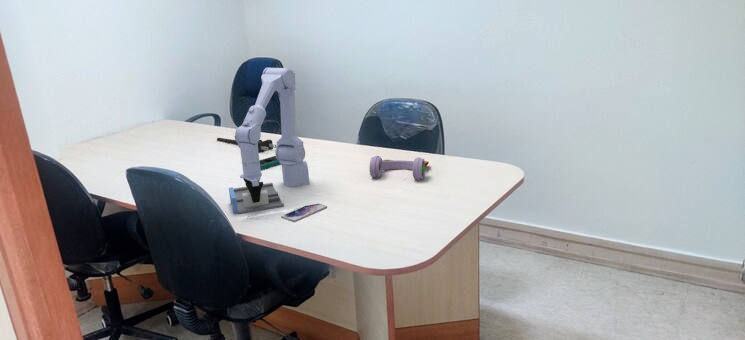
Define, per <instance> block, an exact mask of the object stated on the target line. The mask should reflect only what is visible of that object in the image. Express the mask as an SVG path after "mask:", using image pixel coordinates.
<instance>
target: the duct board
mask: <svg viewBox="0 0 745 340" xmlns="http://www.w3.org/2000/svg"><path fill="white" fill-rule="evenodd" d="M262 190H266V191H267V193H268V198H273V197H280V196H279V193H278V191H276V188H275V187H274V183H273V182H268V183H263V186H262V189H261V191H262ZM228 192H229V200H230V205H232V211H233V214H238V215H242V214H247V213H248V214H249V213H254V212H260V211H261V212H262V211H265V210H266V211H267V210H274V209H277V208H278V209H279V208H284V207H285V204H284V202H283V201H282V200H281V199H280V201H277V202H271V203H269V204H264V205H258V206H252V207H246V208H245V207H244V202H243V193H249V189H248V188H247V187H246V186H241V187H228Z"/></svg>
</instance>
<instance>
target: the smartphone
mask: <svg viewBox="0 0 745 340" xmlns="http://www.w3.org/2000/svg"><path fill="white" fill-rule="evenodd" d="M326 209H328V206H327V205H324V204H321V203H316V204H315V203H314V204H309V205H304V206H302V207H299V208H297V209H294V210H293V211H289V212H287V213H285V214H283V215H281V216H280V218H281V219H283V220H286V221H287V220H288V221H289V222H292V223H296V222H300V221H301V220H303V219H305V218H308V217H309V216H312V215H314V214H316V213H319V212H321V211H323V210H326Z"/></svg>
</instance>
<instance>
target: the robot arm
mask: <svg viewBox="0 0 745 340" xmlns="http://www.w3.org/2000/svg"><path fill="white" fill-rule="evenodd" d="M260 78H261V87H260V90H259V93H258V95H257V98H256V102H255V104H254V105H251V106H250V107H249V109H248V111H247V113H246V116H245V118H244V119H243V122H242V124H241V125H240V126H238V127H237V128H236V130H235V131H234V132H235V135H234V140H236V141H237V143H238V144H237V146H238V148H239V149H240V150H239V151H240V158H241V165H242V174H240V175H239V178H240V179H242V180H243V181H244V183H245V184H244V185H245V187H247V188H248V189H249V193H250V194H251V198H252V201H253V203H256V202H260V193H261V189H262V186H263V184H264V182H263V181H260V180H261V178H262V176H263V174H262V170H261V169H260V160H261V159H260V153H259V152H258V141H259V140H261V138H262V137H261V133H262V124H263V123H264V121H265V118H266V116H267V111H266V108H267V105H268V104H269V102H270V100H271V99H272V96H273V95H274V93H275V92H277V93H278V94H279V103H280V107H279V108H280V128H281V137H280V138H279V139H278V140H277V141H276V148H275V152H274V153H275V155H274V156H276V158H277V159H278V160H279V161H280V163H281V164H282V165H281V173H282V174H281V175H282V182H283V186H285V187H287V188H288V187H290V188H291V187H299V186H302V185H308V184H310V175H309V167H308V162H307V161H306V160H305V158H306V150H305V147H304V140H302V139H301V138H299V137H298V136H297V121H296V120H297V117H296V115H297V114H296V89H297V88H296V73H295V71H294V70H292V68H290V67H265V68H264V69H263V71H262V75H261V77H260Z"/></svg>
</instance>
